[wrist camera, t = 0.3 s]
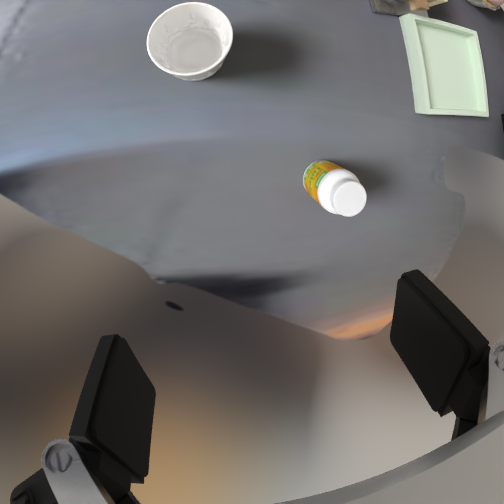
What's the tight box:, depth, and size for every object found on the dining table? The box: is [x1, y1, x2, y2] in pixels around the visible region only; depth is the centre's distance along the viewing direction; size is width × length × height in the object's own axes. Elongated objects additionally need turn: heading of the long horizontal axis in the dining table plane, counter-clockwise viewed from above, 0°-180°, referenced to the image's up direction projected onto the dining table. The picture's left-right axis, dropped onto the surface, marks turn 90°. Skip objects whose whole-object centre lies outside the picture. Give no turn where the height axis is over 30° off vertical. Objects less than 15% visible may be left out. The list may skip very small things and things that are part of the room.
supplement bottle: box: [303, 160, 367, 216], centre depth 34 cm, size 5×5×10 cm
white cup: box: [147, 2, 233, 81], centre depth 25 cm, size 8×8×10 cm
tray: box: [399, 13, 489, 117], centre depth 31 cm, size 16×16×3 cm
